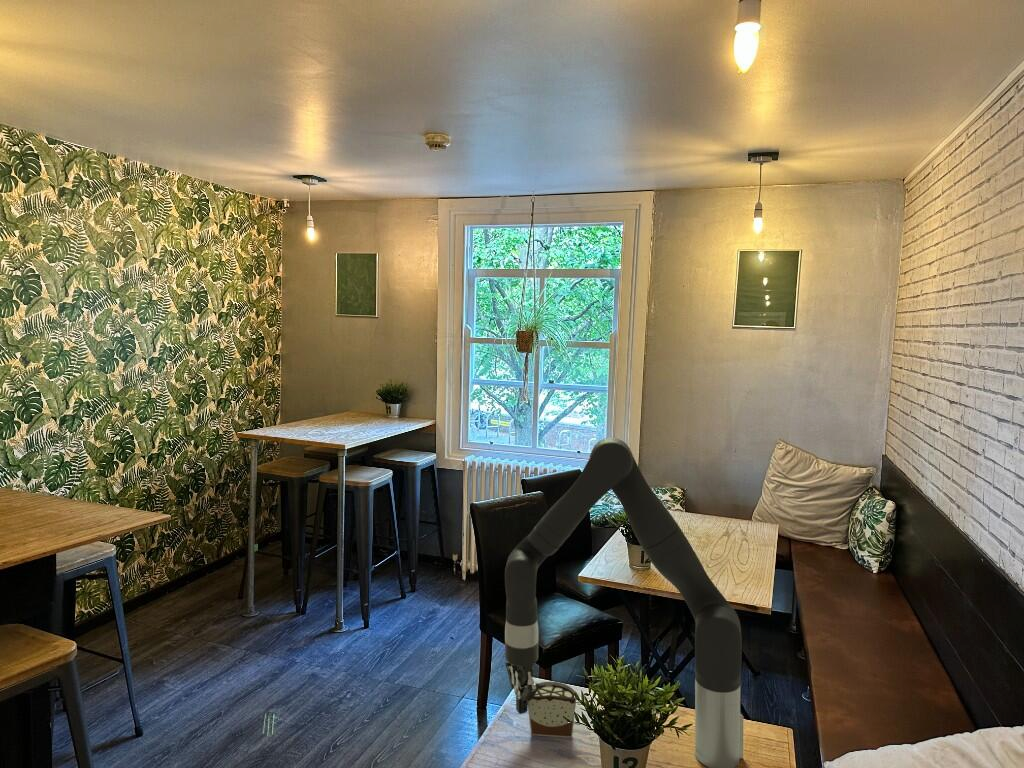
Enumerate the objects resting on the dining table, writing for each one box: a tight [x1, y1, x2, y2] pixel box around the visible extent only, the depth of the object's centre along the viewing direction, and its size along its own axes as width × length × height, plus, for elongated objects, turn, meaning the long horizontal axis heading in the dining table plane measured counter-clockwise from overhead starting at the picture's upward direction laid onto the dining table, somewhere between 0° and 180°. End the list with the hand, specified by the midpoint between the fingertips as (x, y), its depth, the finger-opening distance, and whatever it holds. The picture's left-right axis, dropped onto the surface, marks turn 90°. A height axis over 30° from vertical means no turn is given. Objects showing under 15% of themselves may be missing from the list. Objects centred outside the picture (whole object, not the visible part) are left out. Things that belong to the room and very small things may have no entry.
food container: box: [527, 681, 580, 739], centre depth 152 cm, size 12×6×10 cm, turn 83°
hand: (521, 711), depth 149 cm, fingers closed
